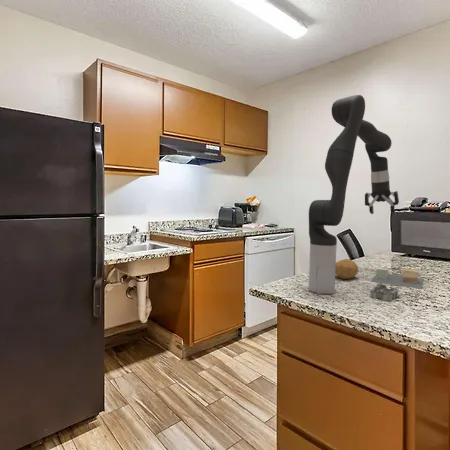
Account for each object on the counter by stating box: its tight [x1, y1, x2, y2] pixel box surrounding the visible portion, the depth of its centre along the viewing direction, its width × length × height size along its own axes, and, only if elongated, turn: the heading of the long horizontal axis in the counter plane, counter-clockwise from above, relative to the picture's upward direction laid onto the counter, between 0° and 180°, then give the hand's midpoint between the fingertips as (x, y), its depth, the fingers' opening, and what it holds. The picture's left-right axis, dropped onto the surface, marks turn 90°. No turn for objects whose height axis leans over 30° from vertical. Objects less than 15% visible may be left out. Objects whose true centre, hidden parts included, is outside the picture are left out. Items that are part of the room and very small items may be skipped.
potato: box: [335, 258, 359, 280], centre depth 131 cm, size 10×14×8 cm
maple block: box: [402, 267, 419, 284], centre depth 126 cm, size 5×5×5 cm
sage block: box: [375, 267, 389, 280], centre depth 132 cm, size 4×4×4 cm
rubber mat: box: [370, 273, 425, 290], centre depth 129 cm, size 20×18×1 cm
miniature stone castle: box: [369, 282, 400, 302], centre depth 107 cm, size 10×7×4 cm
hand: (382, 213), depth 147 cm, fingers open, 8 cm apart
